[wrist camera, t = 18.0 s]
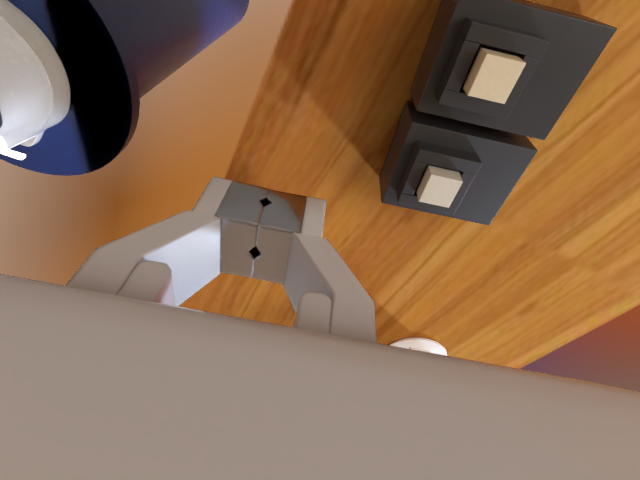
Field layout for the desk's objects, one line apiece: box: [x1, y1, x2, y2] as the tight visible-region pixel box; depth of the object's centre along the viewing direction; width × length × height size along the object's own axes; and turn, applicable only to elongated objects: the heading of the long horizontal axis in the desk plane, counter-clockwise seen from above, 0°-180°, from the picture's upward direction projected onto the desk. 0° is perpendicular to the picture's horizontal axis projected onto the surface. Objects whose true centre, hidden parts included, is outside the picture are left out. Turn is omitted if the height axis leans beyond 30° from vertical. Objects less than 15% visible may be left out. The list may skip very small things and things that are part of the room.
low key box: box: [379, 102, 537, 225], centre depth 37 cm, size 12×9×7 cm
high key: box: [463, 48, 526, 104], centre depth 27 cm, size 3×3×2 cm
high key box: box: [410, 0, 617, 140], centre depth 30 cm, size 12×9×7 cm
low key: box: [417, 165, 463, 208], centre depth 34 cm, size 3×3×2 cm
